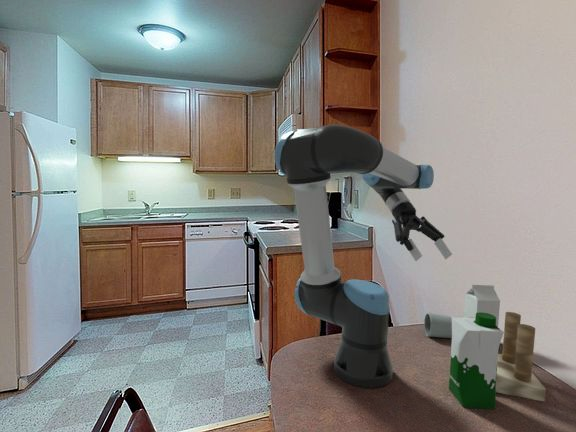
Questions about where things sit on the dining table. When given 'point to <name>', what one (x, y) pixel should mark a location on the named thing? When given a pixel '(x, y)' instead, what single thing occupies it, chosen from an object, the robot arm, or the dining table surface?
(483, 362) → the soya milk
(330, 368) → the dining table surface
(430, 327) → the ceramic mug
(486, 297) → the milk carton
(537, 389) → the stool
